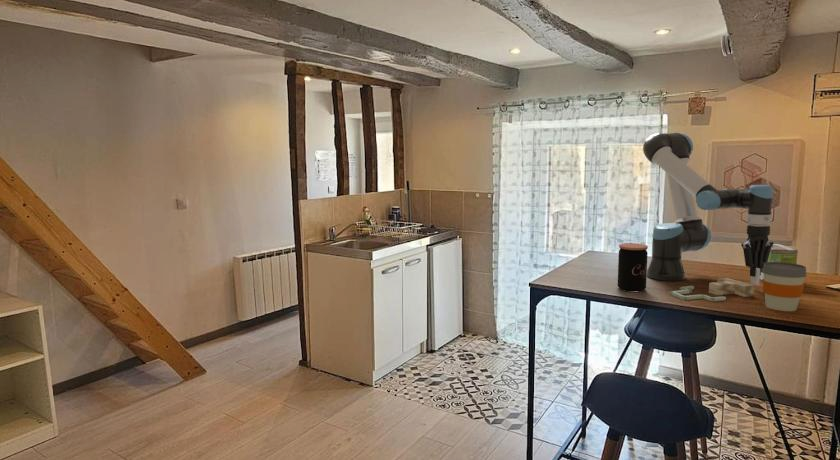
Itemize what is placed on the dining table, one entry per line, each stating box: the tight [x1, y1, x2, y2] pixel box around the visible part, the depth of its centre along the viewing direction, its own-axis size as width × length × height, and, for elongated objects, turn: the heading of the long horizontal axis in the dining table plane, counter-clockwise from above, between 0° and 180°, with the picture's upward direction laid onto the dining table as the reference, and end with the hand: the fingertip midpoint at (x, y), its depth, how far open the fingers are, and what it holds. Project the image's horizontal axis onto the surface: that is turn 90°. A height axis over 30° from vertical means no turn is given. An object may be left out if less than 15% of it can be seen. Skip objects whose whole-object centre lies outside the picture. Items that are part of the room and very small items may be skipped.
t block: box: [708, 277, 755, 298], centre depth 198 cm, size 12×13×4 cm
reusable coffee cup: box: [761, 262, 807, 312], centre depth 177 cm, size 13×13×15 cm
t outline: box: [669, 285, 727, 303], centre depth 195 cm, size 14×17×1 cm
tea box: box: [760, 243, 798, 281], centre depth 214 cm, size 15×10×15 cm, turn 168°
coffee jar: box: [617, 242, 649, 292], centre depth 205 cm, size 11×11×18 cm
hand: (754, 284), depth 200 cm, fingers closed
